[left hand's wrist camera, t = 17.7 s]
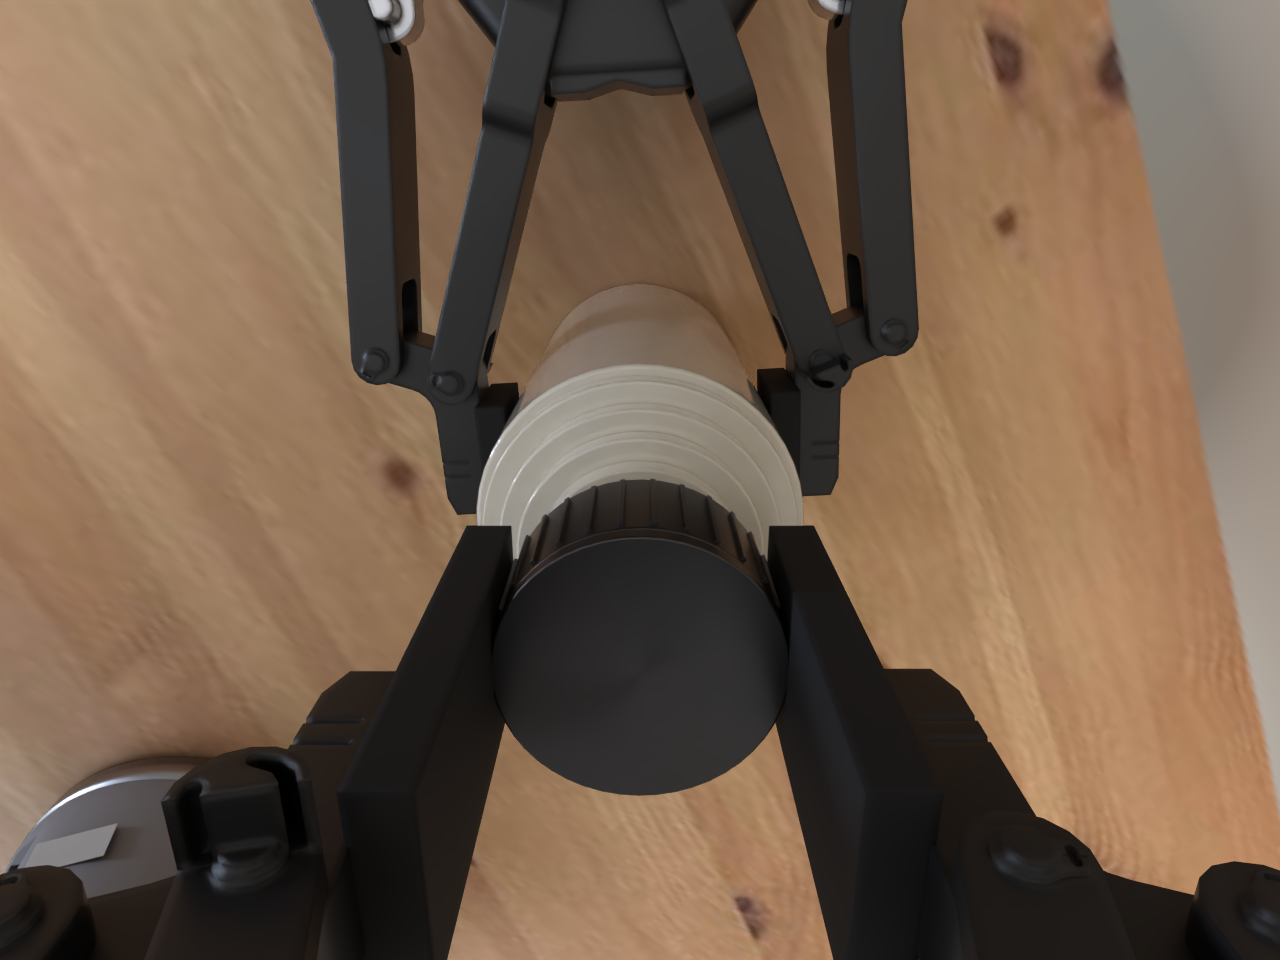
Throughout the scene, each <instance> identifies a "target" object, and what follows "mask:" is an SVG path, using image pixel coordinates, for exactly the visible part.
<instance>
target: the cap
mask: <svg viewBox="0 0 1280 960" xmlns="http://www.w3.org/2000/svg"><path fill="white" fill-rule="evenodd" d="M780 609H782V606H781V603H780V600H779V597H778V594H777V591H776V588H775V585H774V582H773V579H772V576H771V573H770V570H769V566H768V563H767V560H766V557H765V555H761V554H760V552H759V550H758V548H757V545H756V542H755V539H754V535H753V533H752V532H751V531H750V532H748V531H747V530H746V529H745V527H744V526H743V525H742V524H741V523H740V522H739V521H738V519H737V518H736V515H735V513H734V512H733V511H731V512H729V511H728V510H727V509H725V508H724V507H723V506H722V505H720V504H719V503H717V502H716V501H714V500H713V499H712V497H711V496H709V495H707V496H706V495H703V494H701V493H699V492H697V491H695V490H693V489H690V488H687V487H685V485H683V484H680V485H678V484H674V483H669V482H664V481H657V480H656V479H650V480H644V479H640V480H625V479H621V480H620V481H617V482H611V483H606V484H603V485H600V486H596V485H594V486H591V488H590V489H588V490H586V491H583V492H581V493H579V494H577V495H575V496H573V497H571V498H569V497H568V498H566V499H565V500H564V502H563V503H562V504H560V505H559V506H558V507H556V508H555V509H554V510H553V511H551V512H550V513H549V514H548V515H546V514H545V515H543V516H542V519H541V522H540V523H539V524H538V525H537V526H536V528H535V529H534V531H533V532H532V533H531V535H530V536H529V535H526V537H525V539H524V542H523V545H522V548H521V552H520V555H519V558H518V559H516V558H515V559H514V561H513V564H512V567H511V570H510V573H509V576H508V580H507V583H506V586H505V589H504V592H503V595H502V598H501V601H500V604H499V607H498V610H497V613H498V614H501V615H500V618H499V621H498V624H497V628H496V631H495V634H494V637H493V642H492V648H491V657H492V673H493V687H494V696H495V700H496V703H497V706H498V708H499V710H500V713H501V715H502V717H503V719H504V721H505V723H506V724H507V726H508V728H509V729H510V731H511V732H512V734H513V735H514V737H515V738H516V739H517V740H518V741H519V743H520V744H521V745H522V746H523V747H524V749H526V750H527V751H528V752H529V753H530V754H531V755H532V756H533V757H534V758H535V759H536V760H538V761H539V762H540V763H542V764H543V765H545V766H546V767H547V768H549V769H550V770H551V771H553V772H555V773H557V774H559V775H560V776H562V777H564V778H566V779H568V780H570V781H573V782H575V783H578V784H580V785H582V786H585V787H589V788H592V789H596V790H599V791H603V792H609V793H615V794H622V795H637V796H640V795H659V794H665V793H672V792H677V791H681V790H685V789H689V788H692V787H695V786H698V785H700V784H703V783H705V782H708V781H710V780H712V779H714V778H716V777H718V776H720V775H722V774H724V773H726V772H727V771H729V770H730V769H732V768H733V767H735V766H736V765H738V764H739V763H740V762H742V761H743V760H744V759H745V758H746V757H747V756H748V755H750V754H751V753H752V752H753V751H754V750H755V749H756V748H757V747H758V745H759V744H760V743H761V742H762V741H763V740H764V739H765V737H766V736H767V734H768V733H769V731H770V730H771V728H772V727H773V725H774V724H775V722H776V720H777V718H778V716H779V714H780V712H781V710H782V707H783V704H784V701H785V698H786V693H787V680H788V666H789V645H788V640H787V636H786V633H785V630H784V626H783V623H782V620H781V617H780V613H779V610H780Z"/></svg>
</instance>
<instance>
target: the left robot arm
mask: <svg viewBox="0 0 1280 960" xmlns="http://www.w3.org/2000/svg"><path fill="white" fill-rule="evenodd" d="M767 563H768V566H769V570H770V573H771V576H772V579H773V582H774V585H775V588H776V591H777V594H778V597H779V600H780V603H781V606H782V609H780V610H779V613H780V617H781V620H782V623H783V626H784V630H785V633H786V636H787V640H788V645H789V666H788V680H787V693H786V698H785V701H784V704H783V707H782V710H781V712H780V714H779V716H778V718H777V720H776V722H775V723H776V727H777V731H778V735H779V739H780V743H781V747H782V751H783V755H784V759H785V763H786V767H787V772H788V776H789V780H790V784H791V788H792V792H793V796H794V800H795V804H796V808H797V812H798V817H799V821H800V825H801V829H802V833H803V837H804V841H805V845H806V849H807V853H808V857H809V861H810V866H811V870H812V874H813V878H814V882H815V886H816V890H817V894H818V898H819V902H820V906H821V911H822V915H823V919H824V923H825V927H826V931H827V935H828V939H829V943H830V947H831V951H832V955H833V960H1280V871H1279V870H1276V869H1274V868H1271V867H1268V866H1265V865H1259V864H1251V863H1243V862H1235V861H1234V862H1229V863H1223V864H1218V865H1213V866H1211V867H1210V868H1209V869H1208V870H1207V871H1206V872H1205V873H1204V874H1203V875H1202V876H1201V877H1200V878H1199V881H1198V884H1197V888H1196V891H1195V895H1191V894H1187V893H1183V892H1179V891H1174V890H1170V889H1166V888H1162V887H1158V886H1154V885H1149V884H1145V883H1141V882H1137V881H1133V880H1129V879H1126V878H1123V877H1120V876H1117V875H1114V874H1110V873H1107V872H1105V871H1103V869H1102V868H1101V866H1100V864H1099V863H1098V861H1097V860H1096V858H1095V856H1094V855H1093V853H1092V852H1091V850H1090V849H1089V848H1088V847H1087V846H1085V845H1084V844H1083V843H1082V842H1081V841H1080V840H1078V839H1077V838H1076V837H1075V836H1074V835H1073V834H1071V833H1070V832H1069V831H1067V830H1065V829H1063V828H1061V827H1059V826H1057V825H1055V824H1053V823H1051V822H1049V821H1047V820H1046V819H1044V818H1040V817H1036V815H1035V813H1034V812H1033V810H1032V809H1031V807H1030V805H1029V804H1028V802H1027V800H1026V799H1025V797H1024V796H1023V794H1022V792H1021V791H1020V789H1019V787H1018V786H1017V784H1016V783H1015V781H1014V779H1013V778H1012V776H1011V774H1010V773H1009V771H1008V769H1007V768H1006V766H1005V765H1004V763H1003V761H1002V760H1001V758H1000V756H999V755H998V753H997V752H996V750H995V748H994V747H993V745H992V743H991V742H988V740H987V735H986V734H985V732H984V730H983V729H982V727H981V725H980V724H979V722H978V721H975V718H974V717H975V716H974V714H973V712H972V711H971V709H970V708H969V706H968V704H967V703H966V701H965V699H964V698H963V696H962V695H961V693H960V691H959V690H958V689H956V688H955V687H954V686H952V685H951V684H950V683H949V682H947V681H946V680H945V679H943V678H942V677H941V676H939V675H938V674H937V673H936V672H934V671H933V670H932V669H883V667H882V664H881V662H880V660H879V658H878V656H877V654H876V652H875V650H874V648H873V646H872V644H871V642H870V640H869V638H868V636H867V634H866V632H865V630H864V628H863V626H862V624H861V622H860V619H859V617H858V615H857V613H856V611H855V609H854V607H853V605H852V603H851V601H850V599H849V597H848V595H847V593H846V591H845V589H844V587H843V585H842V583H841V581H840V579H839V576H838V574H837V572H836V570H835V568H834V566H833V564H832V562H831V560H830V558H829V556H828V554H827V552H826V550H825V548H824V546H823V544H822V542H821V540H820V538H819V536H818V533H817V531H816V529H815V527H814V526H769V537H768V554H767ZM512 564H513V545H512V527H511V526H466V528H465V531H464V533H463V535H462V537H461V539H460V541H459V543H458V545H457V547H456V549H455V551H454V553H453V555H452V557H451V559H450V561H449V563H448V565H447V567H446V569H445V571H444V574H443V576H442V578H441V580H440V582H439V584H438V586H437V588H436V590H435V592H434V594H433V596H432V598H431V600H430V602H429V604H428V606H427V608H426V610H425V612H424V614H423V617H422V619H421V621H420V623H419V625H418V627H417V629H416V631H415V633H414V635H413V637H412V639H411V641H410V643H409V645H408V647H407V649H406V651H405V653H404V655H403V657H402V660H401V662H400V664H399V666H398V668H397V670H396V671H350V672H349V673H347V674H346V675H345V676H344V677H342V678H341V679H340V680H338V681H337V682H336V683H334V684H333V685H332V686H331V687H329V688H328V689H327V690H325V691H324V692H323V693H322V694H321V695H320V697H319V699H318V700H317V702H316V704H315V705H314V707H313V709H312V710H311V712H310V714H309V715H308V717H307V718H306V719H307V721H306V724H303V725H302V727H301V728H300V730H299V732H298V733H297V735H296V737H295V738H294V743H293V745H290V746H289V748H288V750H286V749H283V748H279V747H249V748H245V749H241V750H237V751H233V752H228V753H224V754H221V755H219V756H217V757H215V758H213V759H204V758H194V757H158V758H150V759H142V760H137V761H132V762H127V763H124V764H120V765H117V766H114V767H110V768H108V769H106V770H103V771H101V772H98V773H96V774H94V775H92V776H90V777H88V778H87V779H85V780H83V781H81V782H80V783H78V784H77V785H76V786H74V787H73V788H71V789H70V790H69V791H68V792H66V793H65V794H64V795H63V796H62V797H61V798H60V799H59V800H58V801H57V802H56V803H55V804H54V805H53V806H52V807H51V808H50V809H49V811H48V812H47V813H46V814H45V815H44V816H43V817H42V818H41V819H40V820H39V821H38V823H37V824H36V825H35V826H34V827H33V828H32V830H31V831H30V832H29V833H28V835H27V836H26V838H25V840H24V841H23V843H22V844H21V846H20V847H19V848H18V850H17V851H16V853H15V854H14V856H13V858H12V859H11V861H10V863H9V865H8V867H7V869H6V872H5V873H4V874H1V875H0V960H447V958H448V954H449V950H450V945H451V941H452V937H453V933H454V929H455V925H456V921H457V917H458V913H459V909H460V905H461V900H462V896H463V892H464V888H465V884H466V880H467V876H468V872H469V868H470V864H471V860H472V855H473V851H474V847H475V843H476V839H477V835H478V831H479V827H480V823H481V819H482V815H483V810H484V806H485V802H486V798H487V794H488V790H489V786H490V782H491V778H492V774H493V770H494V766H495V761H496V757H497V753H498V749H499V745H500V741H501V737H502V733H503V729H504V725H505V721H504V719H503V717H502V715H501V713H500V710H499V708H498V706H497V703H496V700H495V696H494V687H493V673H492V657H491V648H492V642H493V637H494V634H495V631H496V628H497V624H498V621H499V618H500V615H501V614H498V613H497V610H498V607H499V604H500V601H501V598H502V595H503V592H504V589H505V586H506V583H507V580H508V576H509V573H510V570H511V567H512Z"/></svg>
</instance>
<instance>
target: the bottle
mask: <svg viewBox="0 0 1280 960" xmlns="http://www.w3.org/2000/svg"><path fill="white" fill-rule="evenodd" d="M621 479H625V480H640V479H644V480H650V479H656V480H657V481H664V482H669V483H674V484H678V485H680V484H683V485H685V487H687V488H690V489H693V490H695V491H697V492H699V493H701V494H703V495H706V496H707V495H709V496H711V497H712V499H713V500H714V501H716V502H717V503H719V504H720V505H722V506H723V507H724V508H725V509H727V510H728V511H729V512H731V511H733V512H734V513H735V515H736V518H737V519H738V521H739V522H740V523H741V524H742V525H743V526H744V527H745V529H746V530H747V531H748V532H750V531H751V532H752V533H753V535H754V539H755V542H756V545H757V548H758V550H759V552H760V554H761V555H765V557H766V560H767V554H768V537H769V526H803V523H804V516H803V498H802V491H801V485H800V481H799V477H798V474H797V471H796V468H795V465H794V462H793V460H792V458H791V456H790V454H789V452H788V449H787V447H786V445H785V443H784V441H783V440H782V438H781V436H780V434H779V432H778V430H777V428H776V426H775V424H774V423H773V421H772V419H771V417H770V415H769V413H768V411H767V409H766V408H765V406H764V404H763V402H762V400H761V398H760V396H759V394H758V393H757V391H756V389H755V387H754V385H753V383H752V381H751V379H750V378H749V376H748V374H747V372H746V370H745V368H744V366H743V364H742V362H741V361H740V359H739V357H738V355H737V353H736V351H735V349H734V347H733V346H732V344H731V342H730V340H729V338H728V336H727V334H726V333H725V331H724V330H723V328H722V327H721V325H720V324H719V322H718V321H717V320H716V319H715V318H714V316H713V315H712V314H711V313H710V312H709V311H708V310H707V309H705V308H704V307H703V306H702V305H701V304H699V303H698V302H696V301H695V300H693V299H692V298H690V297H689V296H687V295H684V294H682V293H680V292H678V291H676V290H672V289H669V288H666V287H662V286H657V285H651V284H631V285H623V286H618V287H614V288H610V289H607V290H605V291H602V292H599V293H597V294H596V295H594V296H592V297H590V298H588V299H586V300H585V301H584V302H582V303H581V304H579V305H578V306H577V307H576V308H575V309H573V310H572V311H571V312H570V313H569V314H568V315H567V316H566V317H565V319H564V320H563V321H562V322H561V324H560V325H559V326H558V328H557V330H556V331H555V333H554V335H553V336H552V338H551V340H550V342H549V344H548V346H547V347H546V349H545V351H544V353H543V355H542V357H541V359H540V361H539V362H538V364H537V366H536V368H535V370H534V372H533V374H532V376H531V378H530V379H529V381H528V383H527V385H526V387H525V389H524V391H523V393H522V395H521V396H520V398H519V400H518V402H517V404H516V406H515V408H514V410H513V412H512V413H511V415H510V417H509V419H508V421H507V423H506V425H505V427H504V428H503V430H502V432H501V434H500V436H499V438H498V440H497V442H496V444H495V445H494V447H493V449H492V452H491V454H490V456H489V458H488V461H487V463H486V465H485V468H484V471H483V475H482V479H481V482H480V486H479V492H478V500H477V526H511V527H512V545H513V561H514V559H515V558H516V559H518V558H519V555H520V552H521V548H522V545H523V542H524V539H525V537H526V535H529V536H530V535H531V533H532V532H533V531H534V529H535V528H536V526H537V525H538V524H539V523H540V522H541V519H542V516H543V515H545V514H546V515H548V514H549V513H550V512H551V511H553V510H554V509H555V508H556V507H558V506H559V505H560V504H562V503H563V502H564V500H565V499H566V498H568V497H569V498H571V497H573V496H575V495H577V494H579V493H581V492H583V491H586V490H588V489H590V488H591V486H594V485H596V486H600V485H603V484H606V483H611V482H617V481H620V480H621Z"/></svg>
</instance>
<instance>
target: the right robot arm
mask: <svg viewBox="0 0 1280 960" xmlns="http://www.w3.org/2000/svg"><path fill="white" fill-rule="evenodd" d="M458 1H459V2H460V3H461V5H462V6H463V7H464V9H465V10H466V11H467V12H468V14H469V15H470V16H471V17H472V19H473V20H474V21H475V23H476V24H477V25H478V26H479V28H480V29H481V30H482V32H483V33H484V34H485V35H486V37H487V38H488V39H489V40H490V42H491V43H492V44H493V46H494V47H495V52H494V56H493V61H492V66H491V70H490V75H489V79H488V84H487V88H486V93H485V98H484V103H483V111H482V121H483V122H482V129H481V134H480V139H479V143H478V148H477V152H476V157H475V161H474V166H473V171H472V175H471V180H470V184H469V189H468V193H467V198H466V202H465V207H464V211H463V216H462V220H461V225H460V229H459V234H458V238H457V243H456V247H455V252H454V256H453V261H452V265H451V270H450V274H449V279H448V283H447V288H446V292H445V297H444V301H443V306H442V310H441V315H440V319H439V324H438V328H437V333H436V336H433V335H430V334H426V333H423V332H422V312H421V281H420V251H419V220H418V189H417V159H416V128H415V98H414V84H413V74H412V68H411V63H410V58H409V53H408V50H407V45H410V44H412V43H413V42H415V41H416V40H417V39H418V38H419V37H420V35H421V33H422V31H423V28H424V22H425V20H424V10H423V2H424V0H311V3H312V5H313V8H314V10H315V13H316V16H317V18H318V21H319V24H320V26H321V29H322V31H323V34H324V37H325V39H326V42H327V44H328V47H329V50H330V52H331V55H332V57H333V70H334V86H335V102H336V118H337V134H338V150H339V166H340V182H341V198H342V214H343V230H344V247H345V263H346V279H347V295H348V311H349V327H350V343H351V359H352V364H353V368H354V370H355V372H356V373H357V374H358V376H359V377H360V378H361V379H363V380H364V381H366V382H367V383H370V384H374V385H381V384H386V383H391V384H394V385H398V386H401V387H405V388H408V389H412V390H414V391H417V392H419V393H420V394H422V395H423V396H425V397H426V398H427V399H428V400H429V402H430V403H431V404H432V406H433V408H434V411H435V414H436V419H437V426H438V433H439V440H440V447H441V454H442V461H443V468H444V475H445V482H446V489H447V496H448V499H449V501H450V503H451V505H452V506H453V508H454V510H455V511H456V513H457V515H462V514H477V500H478V492H479V486H480V482H481V479H482V475H483V471H484V468H485V465H486V463H487V461H488V458H489V456H490V454H491V452H492V449H493V447H494V445H495V444H496V442H497V440H498V438H499V436H500V434H501V432H502V430H503V428H504V427H505V425H506V423H507V421H508V419H509V417H510V415H511V413H512V412H513V410H514V408H515V406H516V404H517V402H518V400H519V391H518V383H501V384H491V385H490V387H489V386H488V378H487V374H488V372H489V371H490V369H491V367H492V365H493V363H491V359H492V355H493V351H494V347H495V343H496V339H497V334H498V330H499V326H500V322H501V318H502V314H503V310H504V306H505V302H506V298H507V294H508V290H509V286H510V282H511V278H512V274H513V270H514V266H515V262H516V257H517V253H518V249H519V245H520V241H521V237H522V233H523V229H524V225H525V221H526V217H527V213H528V209H529V205H530V201H531V197H532V193H533V189H534V185H535V180H536V176H537V172H538V168H539V164H540V160H541V156H542V152H543V148H544V145H545V142H546V139H547V137H548V134H549V131H550V128H551V124H552V120H553V116H554V112H555V108H556V104H557V100H558V101H559V102H561V101H577V100H590V99H593V98H596V97H598V96H601V95H604V94H607V93H609V92H612V91H615V90H618V89H624V90H629V91H633V92H637V93H642V94H646V95H650V96H658V95H674V94H683V92H685V94H686V97H687V100H688V102H689V105H690V108H691V110H692V113H693V115H694V118H695V121H696V123H697V125H698V127H699V129H700V131H701V133H702V136H703V138H704V140H705V143H706V146H707V148H708V151H709V154H710V156H711V159H712V162H713V164H714V167H715V170H716V172H717V175H718V178H719V180H720V183H721V186H722V188H723V191H724V194H725V196H726V199H727V202H728V204H729V207H730V210H731V212H732V215H733V217H734V220H735V223H736V225H737V228H738V231H739V233H740V236H741V239H742V241H743V244H744V247H745V249H746V252H747V255H748V257H749V260H750V263H751V265H752V268H753V271H754V273H755V276H756V279H757V281H758V284H759V287H760V289H761V292H762V294H763V297H764V300H765V302H766V305H767V308H768V310H769V313H770V316H771V318H772V321H773V324H774V326H775V329H776V332H777V334H778V337H779V340H780V342H781V345H782V348H783V350H784V353H785V354H786V370H785V369H784V368H773V369H757V393H758V394H759V396H760V398H761V400H762V402H763V404H764V406H765V408H766V409H767V411H768V413H769V415H770V417H771V419H772V421H773V423H774V424H775V426H776V428H777V430H778V432H779V434H780V436H781V438H782V440H783V441H784V443H785V445H786V447H787V449H788V452H789V454H790V456H791V458H792V460H793V462H794V465H795V468H796V471H797V474H798V477H799V481H800V485H801V491H802V496H816V495H831V492H832V490H833V488H834V486H835V483H836V481H837V479H838V469H839V458H838V455H839V431H840V394H841V388H842V387H843V386H845V385H846V383H847V382H848V381H849V379H850V378H851V374H852V371H853V369H854V368H856V367H858V366H860V365H862V364H864V363H867V362H869V361H871V360H874V359H876V358H879V357H881V356H884V355H886V356H898V355H900V354H903V353H905V352H907V351H908V350H909V349H910V348H911V347H912V346H913V345H914V343H915V341H916V339H917V337H918V330H919V325H918V307H917V289H916V271H915V253H914V235H913V217H912V199H911V181H910V163H909V145H908V127H907V109H906V92H905V74H904V56H903V38H902V19H903V16H904V12H905V8H906V4H907V0H808V3H809V6H810V7H811V9H812V10H813V12H814V13H815V14H817V15H818V16H819V17H822V18H824V19H828V20H829V24H828V32H827V46H826V56H827V76H828V88H829V100H830V112H831V124H832V136H833V148H834V159H835V171H836V183H837V195H838V207H839V219H840V231H841V243H842V254H843V266H844V278H845V290H846V302H847V308H846V309H843V310H841V311H838V312H836V313H834V314H831V313H830V310H829V307H828V304H827V301H826V298H825V295H824V293H823V290H822V287H821V284H820V281H819V278H818V276H817V273H816V270H815V267H814V264H813V261H812V258H811V256H810V253H809V250H808V247H807V244H806V241H805V239H804V236H803V233H802V230H801V227H800V224H799V222H798V219H797V216H796V213H795V210H794V207H793V204H792V202H791V199H790V196H789V193H788V190H787V187H786V185H785V182H784V179H783V176H782V173H781V170H780V168H779V165H778V162H777V159H776V156H775V153H774V150H773V148H772V145H771V142H770V139H769V136H768V133H767V131H766V128H765V125H764V122H763V119H762V116H761V113H760V110H759V106H758V100H757V95H756V91H755V87H754V84H753V81H752V78H751V75H750V72H749V69H748V66H747V64H746V61H745V58H744V55H743V52H742V49H741V46H740V44H739V41H738V38H737V33H738V32H739V30H740V28H741V27H742V25H743V23H744V22H745V20H746V18H747V17H748V15H749V14H750V12H751V10H752V9H753V7H754V5H755V4H756V2H757V0H458Z"/></svg>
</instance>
